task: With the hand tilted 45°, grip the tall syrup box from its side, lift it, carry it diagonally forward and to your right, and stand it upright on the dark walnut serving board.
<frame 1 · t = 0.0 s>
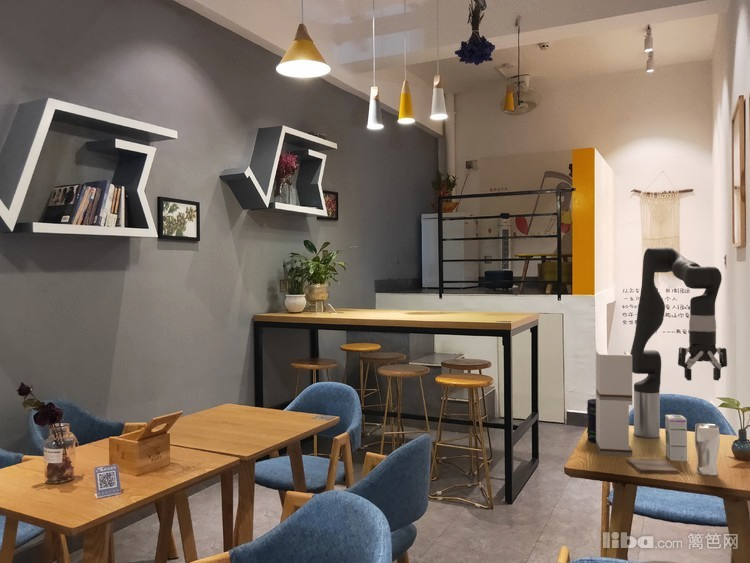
hand: (702, 380, 197), 29 cm above the table, tool pointing down, fingers open, 8 cm apart
walnut board: (652, 467, 202), on the table
storage jar: (600, 441, 235), on the table
beer glass: (707, 473, 196), on the table
white stacked pillar: (613, 451, 221), on the table
syrup box: (676, 459, 211), on the table
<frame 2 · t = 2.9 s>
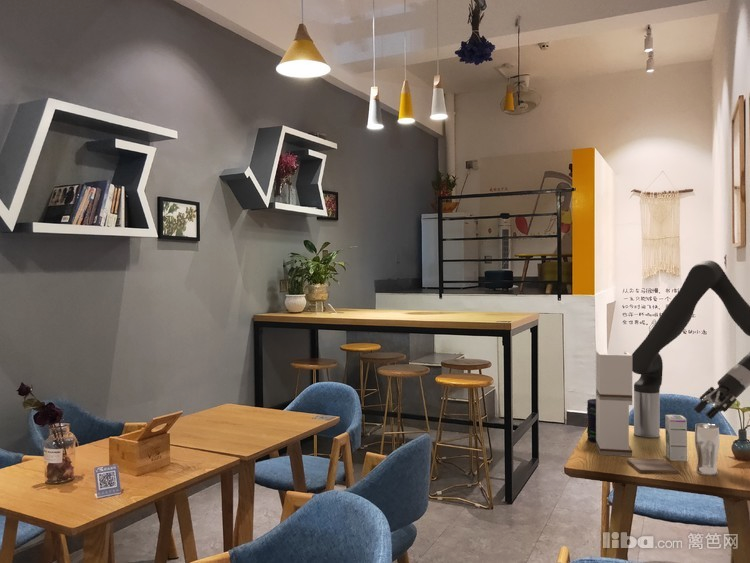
hand: (701, 414, 211), 15 cm above the table, tool tilted 45°, fingers open, 8 cm apart
nothing on the table moved.
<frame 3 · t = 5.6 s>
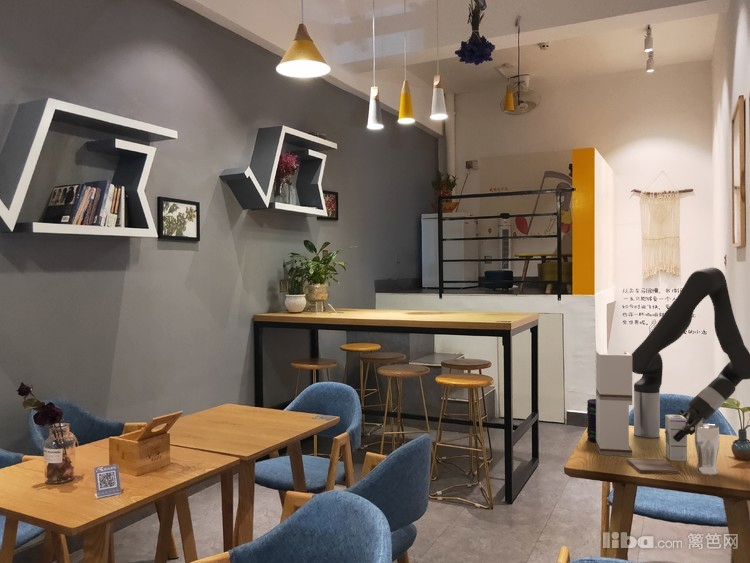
hand: (671, 437, 211), 7 cm above the table, tool tilted 45°, fingers closed on syrup box, 6 cm apart
syrup box: (676, 459, 211), on the table, touching gripper
everything else where it was.
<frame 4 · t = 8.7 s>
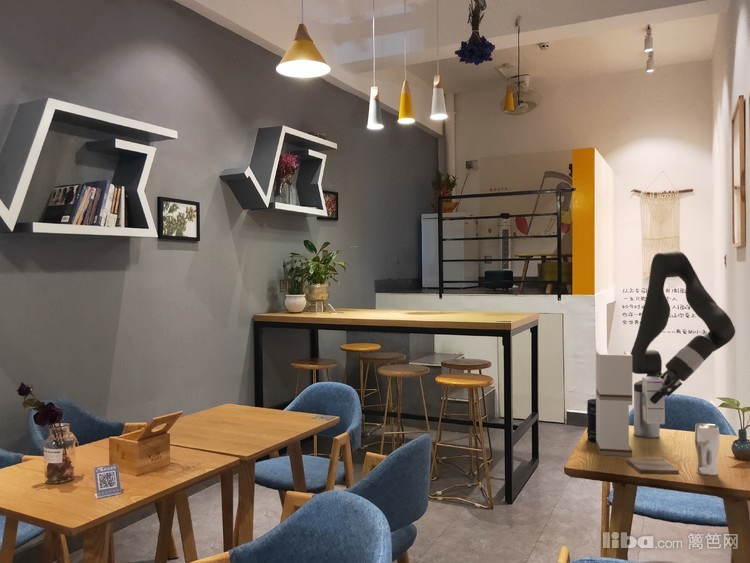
hand: (647, 399, 202), 22 cm above the table, tool tilted 45°, fingers closed on syrup box, 6 cm apart
syrup box: (653, 422, 202), point 15 cm above the table, touching gripper
everything else where it was.
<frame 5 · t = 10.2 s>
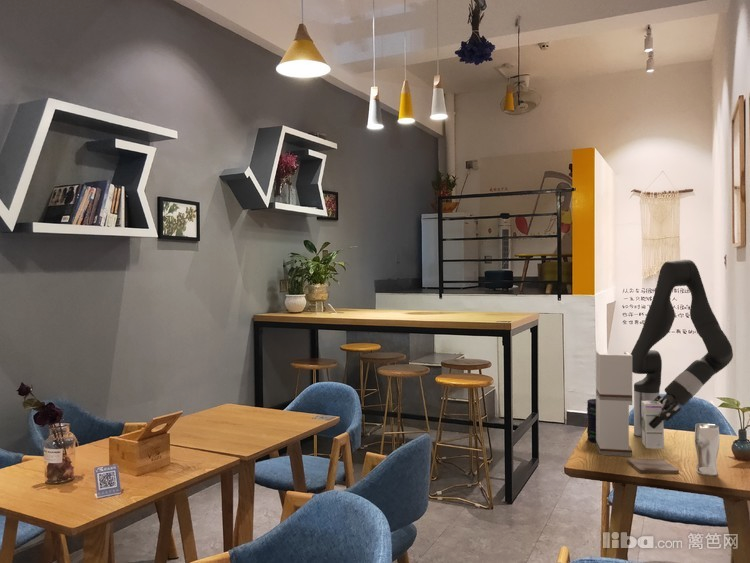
hand: (647, 423, 202), 14 cm above the table, tool tilted 45°, fingers closed on syrup box, 6 cm apart
syrup box: (652, 447, 202), point 7 cm above the table, touching gripper
everything else where it was.
when the fingers open (9 cm above the table, at t = 11.7 s): syrup box stays where it is, resting on walnut board.
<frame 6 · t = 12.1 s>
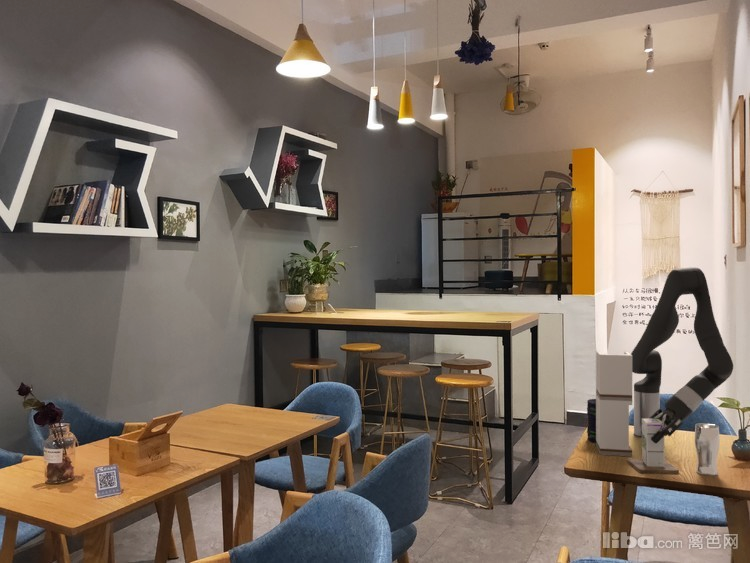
hand: (647, 437, 202), 10 cm above the table, tool tilted 45°, fingers open, 8 cm apart
syrup box: (653, 465, 202), point 1 cm above the table, touching walnut board
everything else where it was.
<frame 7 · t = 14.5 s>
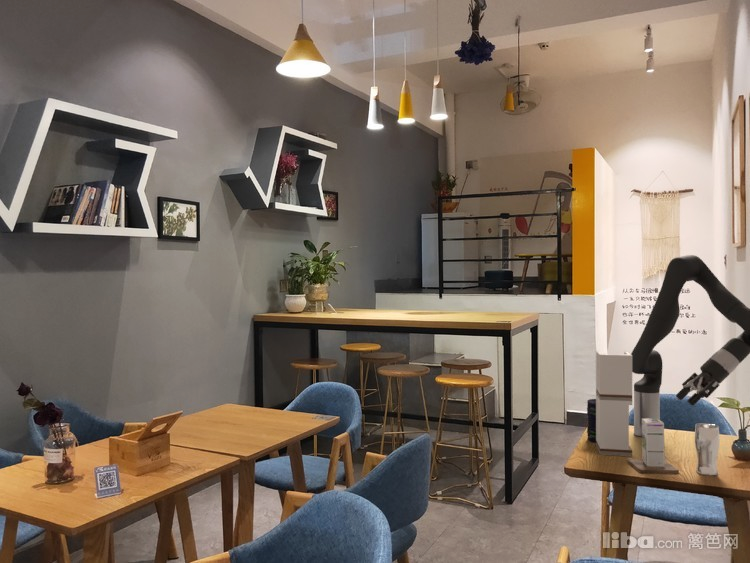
hand: (683, 400, 202), 22 cm above the table, tool tilted 45°, fingers open, 8 cm apart
nothing on the table moved.
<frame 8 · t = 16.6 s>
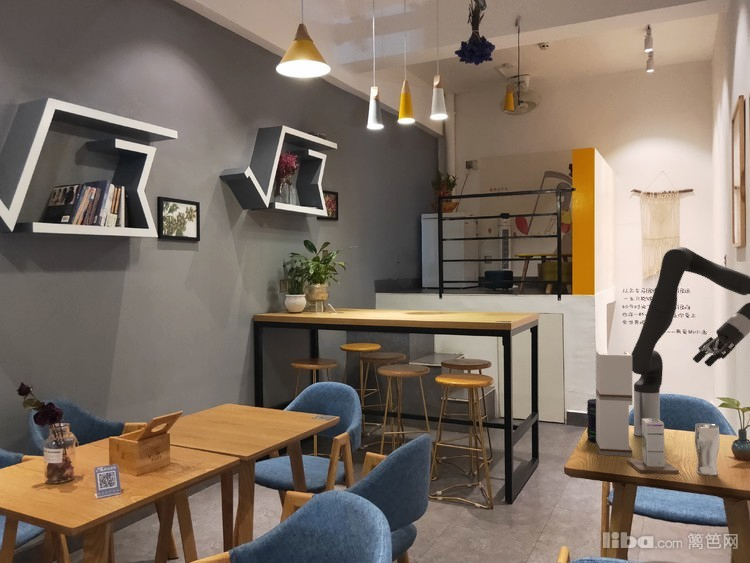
hand: (700, 362, 212), 33 cm above the table, tool tilted 45°, fingers open, 8 cm apart
nothing on the table moved.
at the end: syrup box inside the target area on the walnut board (0.4 cm from its centre), point 0.8 cm above the walnut board's base; syrup box tilted 0°; the gripper is holding nothing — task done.
